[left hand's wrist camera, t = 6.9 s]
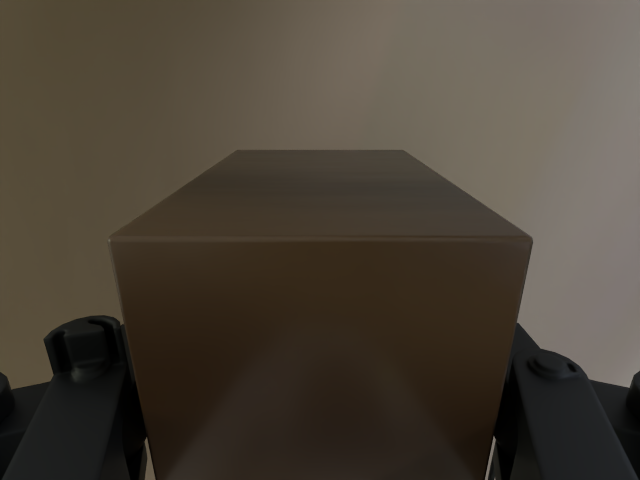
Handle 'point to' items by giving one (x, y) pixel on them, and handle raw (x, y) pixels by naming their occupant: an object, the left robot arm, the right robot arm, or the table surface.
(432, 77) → the table surface
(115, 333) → the left robot arm
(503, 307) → the bar
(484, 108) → the table surface
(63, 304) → the table surface
